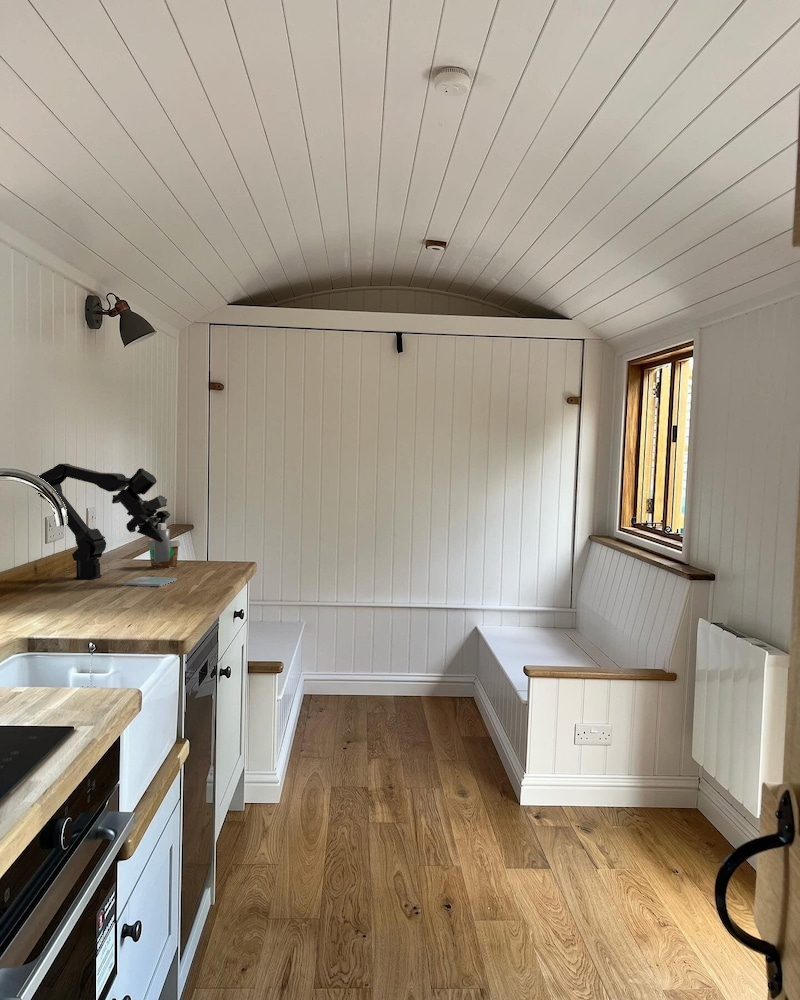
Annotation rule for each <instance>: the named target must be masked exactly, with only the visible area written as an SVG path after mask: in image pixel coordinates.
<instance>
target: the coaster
mask: <svg viewBox="0 0 800 1000" xmlns="http://www.w3.org/2000/svg"><path fill="white" fill-rule="evenodd" d="M177 579H178V578H177V577H161V576H160V577H158V576H141V577H137V578H134V579H131V580H128V581H127V580H126V581H125V582H123V586H127V585H137V586H136V587H150V586H161V587H164V586H166V585H169V584H171V583H170V582H172V583H174V582H176V580H177ZM173 581H174V582H173ZM168 583H169V584H168ZM165 584H166V585H165ZM163 585H164V586H163Z"/></svg>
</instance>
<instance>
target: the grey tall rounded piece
mask: <svg viewBox="0 0 800 1000" xmlns="http://www.w3.org/2000/svg"><path fill="white" fill-rule="evenodd" d="M166 528H167V522H165V523H158V529H156V530H157V531H158V533H159V534H160V535H161V537H162V539H163V541H162V542H159V541H157V540H153V541H154V561H158V562H164V561H169V541H170V540H171V539H170V538H171V536H170V533H171V532H170V531H171V530H170V529H169V528H167V529H166ZM169 539H170V540H169Z"/></svg>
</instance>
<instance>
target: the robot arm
mask: <svg viewBox="0 0 800 1000" xmlns="http://www.w3.org/2000/svg"><path fill="white" fill-rule="evenodd" d="M38 475H39V477H40V478H42V479H44V480H45V481H46V482H48V483H49V484H50V485H51V486H52V487H53V488H54V489H55V490H56V492H57V493H58V495H59V496H60V497H61V499H62V501H63V502H64V504H65V506H66V509H67V516H68V524H66V526H67V527H68V528H69V530H70V531H71V532H72V534H73V535H74V537H75V542H76V543H75V545H76V546H77V548H76V549H75V551H74V552H73V553H72V554H71V556H72V559H73V561H75V566H76V567H75V569H76V573H75V574H76V575H75V576H74V577H73V579H76V580H77V579H78V580H80V579H81V580H93V579H97V578H100V577H102V574H101V563H100V559H99V558H102V556H103V552H105V550H106V547H107V542H106V540H105V539H106V537H105V536H104V535H103V534H102V533H101V531H100V530H99V528H93V529H91V528H90V527H89V526H88V525H87V524H86V523H85V522H84V520H83V519H82V518H81V516H80V515H79V513H78V512H77V511H76V509H75V508H74V507H73V506H72V505H71V503H70V502H69V501H68V499H67V498H66V497H65V496H64V494H63V488H62V485H61V484H62V483H63V482H65V480H66V479H67V478H70V479H73V480H78V481H81V482H84V483H85V482H86V483H90V484H93V485H96V486H97V488H99V489H102V490H104V491H106V492H108V493H111V492H118V493H117V494H113V495H112V501H111V503H112V504H121V505H122V506H123V507H124V508H125V509H126V511H127V512H126V514H127V515H128V516H129V517H130V516H132V518H131V519H130V520H129V521H128V522H126V530H127V531H128V532H129V533H130V534H131V533H134V532H135V533H137V534H140V535H143V536H145V537H147V538H149V539H152V540H153V541H155V540H157V541H159V542H162V541H163V539H162V537H161V535H160V534H159V533H158V531H157V530H156V529H158V523H166V521H167V520H168V519H169V518H170V516H171V514H170V513H169V511H168V510H159V509H162V508H163V507H164V508H165V507H166V506H168V504H167V502H168V499H167V498H166V497H165V496H164V495H160V494H159V495H158V496H155V497H154V498H152V499H150V500H147V499H146V500H143V498H141V496H140V495H143V496H144V495H146V494H147V493H149V491H150V489H151V490H152V488H153V487H154V486H155V485H156V483H158V482H157V481H158V480H157V479H156V477H155V475H154V474H152V473H150V472H149V471H147V470H145V469H144V468H138V469H137V471H136V472H135V474H133V475H132V476H131V478H130V477H126V475H125V474H124V473H116V472H100V471H95V470H92V469H87V468H84V467H79V466H76V465H72V464H70V463H58V464H57V465H55V466H54V467H51V468H49V469H47V470H46V471H44V472H42V473H40V474H37V475H36V476H38ZM38 494H40V493H38ZM38 494H37V495H38ZM39 497H40V498H42V499H44V500H45V501H47V500H46V499H45V498H44V497H43V496H42V495H41V494H40V496H39ZM158 510H159V511H158ZM137 527H138V530H137V531H136V528H137ZM166 529H168V528H167V527H166ZM171 538H172V537H170V539H169V541H171Z"/></svg>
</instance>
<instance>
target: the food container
mask: <svg viewBox="0 0 800 1000" xmlns="http://www.w3.org/2000/svg"><path fill="white" fill-rule="evenodd" d="M154 541H155V540H153V539H152V538H149V539H148V541H147V545H146V546H147V547H148V548H149V558H150V567H151V566H152V567H156V568H169V567H178V555H179V547H180V546H181V544H180V541H179V539H177V540H169V561H164V562H158V561H154ZM152 567H151V568H152Z"/></svg>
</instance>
